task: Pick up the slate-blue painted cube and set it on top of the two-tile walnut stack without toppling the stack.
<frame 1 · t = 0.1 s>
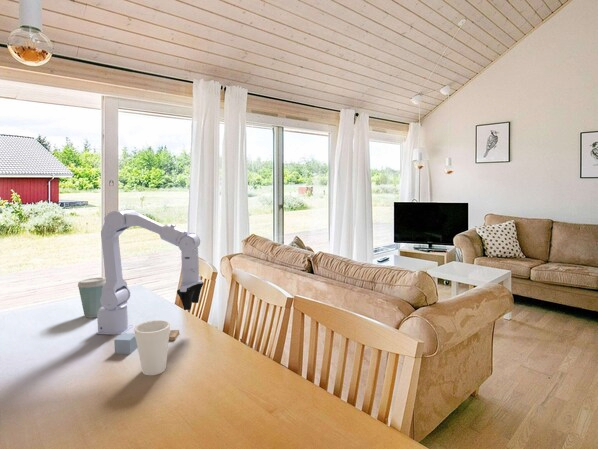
hand: (191, 306, 136), 10 cm above the table, fingers open, 7 cm apart
slab bottom: (168, 340, 133), on the table, touching slab top
disposable coffee cup: (94, 315, 156), on the table
foam cup: (154, 370, 111), on the table
cube: (126, 351, 123), on the table
slab top: (168, 337, 133), resting on slab bottom
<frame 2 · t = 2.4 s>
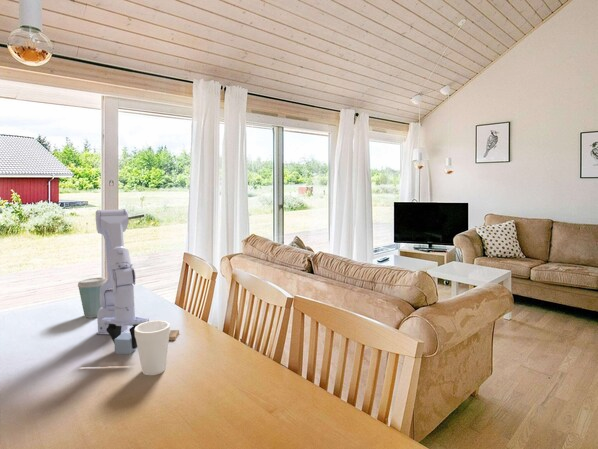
hand: (126, 347, 123), 1 cm above the table, fingers closed on cube, 5 cm apart
cube: (126, 351, 123), on the table, touching gripper
everything else where it was.
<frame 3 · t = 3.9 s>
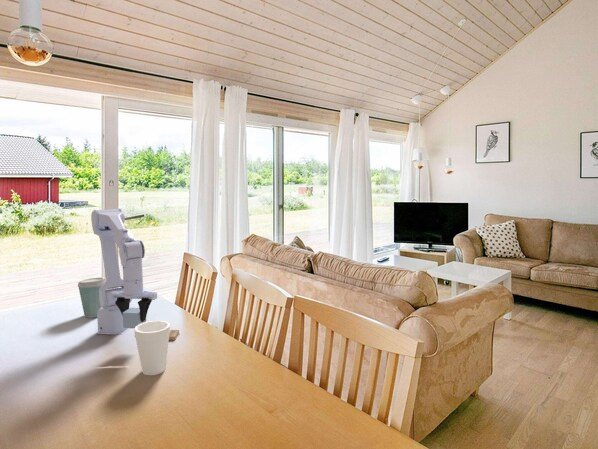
hand: (135, 320, 124), 9 cm above the table, fingers closed on cube, 5 cm apart
cube: (135, 325, 124), point 8 cm above the table, touching gripper
everything else where it was.
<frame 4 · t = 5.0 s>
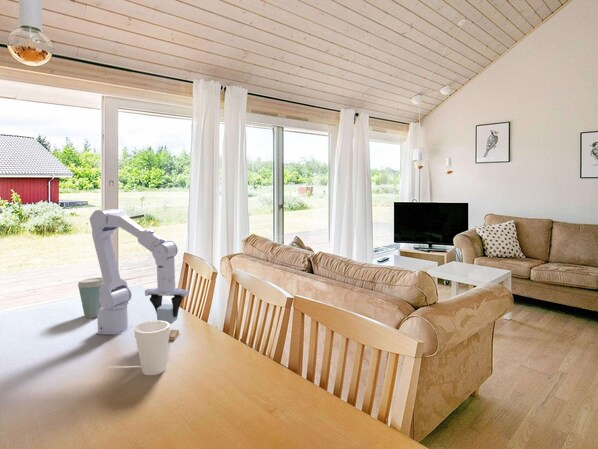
hand: (167, 316, 132), 8 cm above the table, fingers closed on cube, 5 cm apart
cube: (167, 320, 132), point 6 cm above the table, touching gripper
everything else where it was.
when the fingers open (5 cm above the table, at t = 6.2 s): cube drops 1 cm, point 2 cm above the table.
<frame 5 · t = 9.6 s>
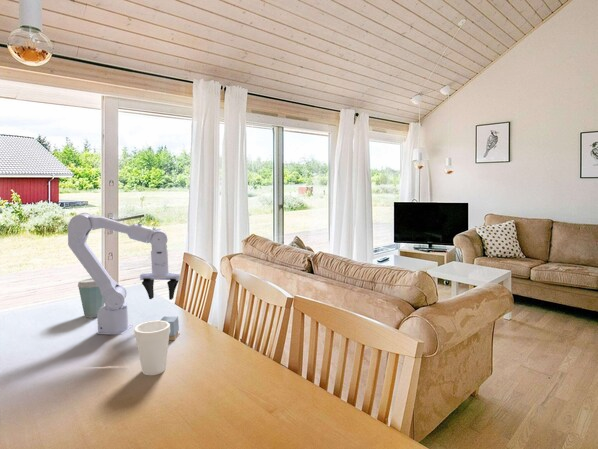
hand: (161, 298, 144), 10 cm above the table, fingers open, 7 cm apart
slab bottom: (168, 340, 133), on the table
cube: (169, 333, 133), point 2 cm above the table
slab top: (167, 336, 133), point 1 cm above the table
everything else where it was.
at the end: cube 0.7 cm off-centre on the slab top, point 1.4 cm above the slab top's base; slab top tilted 0°; cube tilted 1° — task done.
